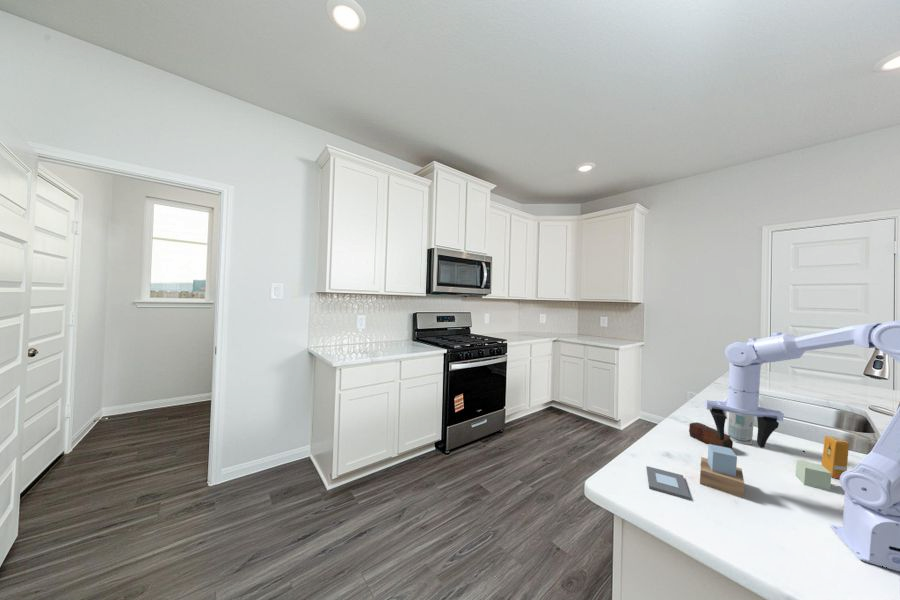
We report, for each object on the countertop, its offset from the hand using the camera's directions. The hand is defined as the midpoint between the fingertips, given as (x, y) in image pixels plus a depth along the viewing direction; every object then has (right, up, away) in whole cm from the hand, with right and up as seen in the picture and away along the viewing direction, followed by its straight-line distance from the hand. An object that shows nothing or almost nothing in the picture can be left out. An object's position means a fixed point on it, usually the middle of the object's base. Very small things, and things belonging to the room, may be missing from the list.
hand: (740, 442), depth 79 cm
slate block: (-5, -7, -1) cm, 9 cm away
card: (-19, -10, -1) cm, 22 cm away
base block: (-5, -11, 0) cm, 12 cm away
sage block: (+19, -11, +1) cm, 22 cm away
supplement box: (+29, -11, +4) cm, 32 cm away
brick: (+10, -10, +21) cm, 25 cm away
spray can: (+22, -10, +23) cm, 33 cm away
